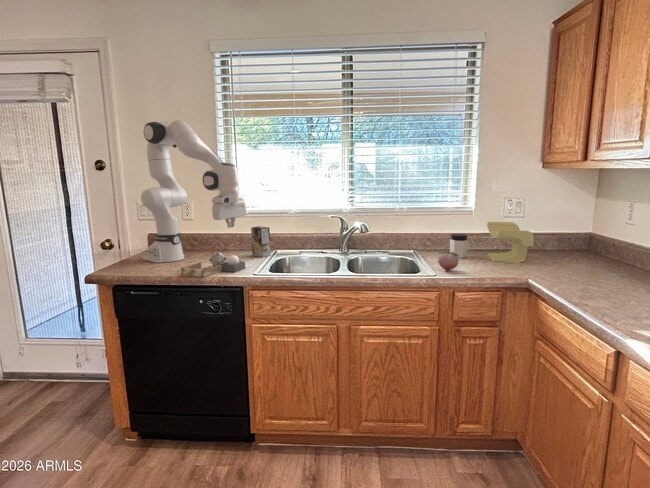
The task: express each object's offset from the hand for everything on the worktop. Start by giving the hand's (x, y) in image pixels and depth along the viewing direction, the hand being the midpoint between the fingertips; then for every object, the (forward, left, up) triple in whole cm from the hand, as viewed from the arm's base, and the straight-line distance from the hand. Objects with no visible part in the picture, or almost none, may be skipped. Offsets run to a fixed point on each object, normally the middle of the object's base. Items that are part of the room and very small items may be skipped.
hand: (231, 227), depth 184 cm
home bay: (-10, -11, -21) cm, 25 cm away
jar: (+94, +74, -21) cm, 122 cm away
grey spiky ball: (-10, 0, -21) cm, 23 cm away
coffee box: (-6, +31, -21) cm, 38 cm away
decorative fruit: (+94, +41, -21) cm, 105 cm away
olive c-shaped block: (+118, +77, -21) cm, 143 cm away
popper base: (0, 0, -21) cm, 21 cm away
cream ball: (0, 0, -21) cm, 21 cm away
